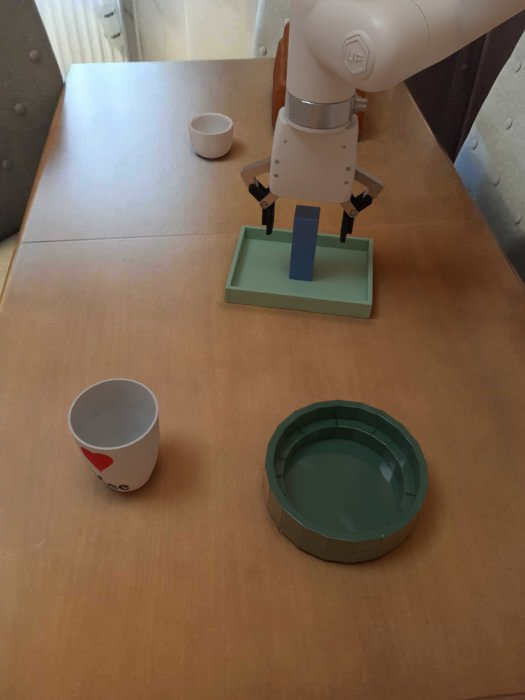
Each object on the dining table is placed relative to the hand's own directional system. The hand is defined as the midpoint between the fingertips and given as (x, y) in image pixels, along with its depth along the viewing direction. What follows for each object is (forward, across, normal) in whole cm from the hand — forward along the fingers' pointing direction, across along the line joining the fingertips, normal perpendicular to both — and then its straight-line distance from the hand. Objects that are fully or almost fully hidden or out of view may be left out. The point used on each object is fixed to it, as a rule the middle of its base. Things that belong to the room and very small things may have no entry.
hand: (306, 232), depth 79 cm
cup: (+8, +15, +34) cm, 38 cm away
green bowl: (+7, -7, +33) cm, 34 cm away
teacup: (+7, +19, -32) cm, 38 cm away
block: (+7, 0, 0) cm, 7 cm away
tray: (+7, 0, 0) cm, 7 cm away
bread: (+7, +2, -50) cm, 51 cm away
